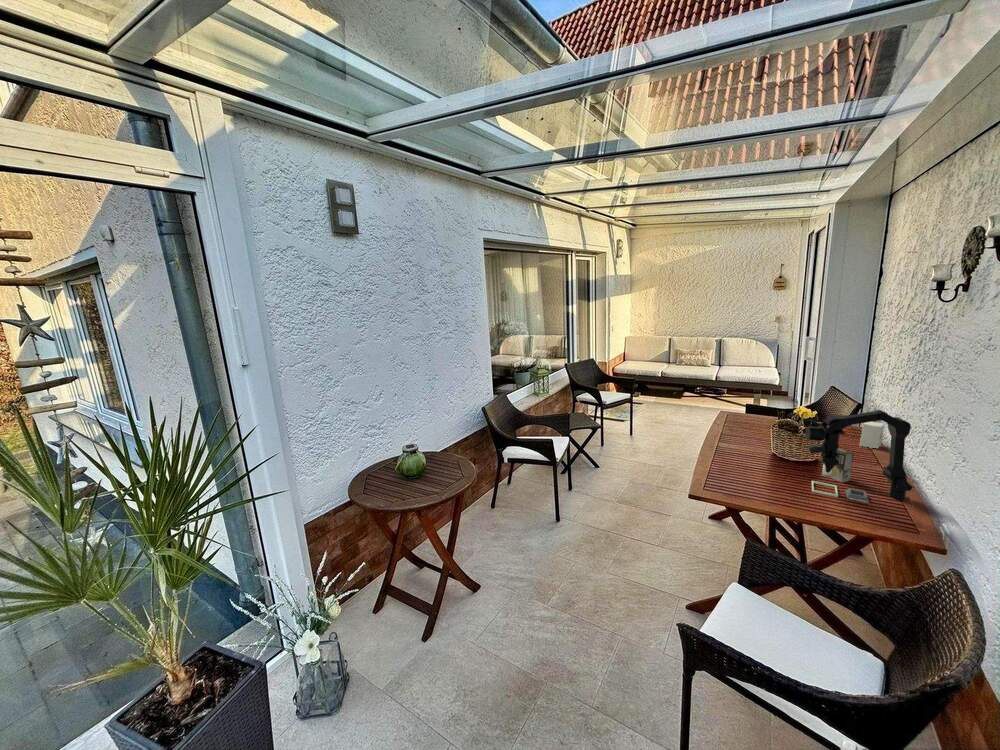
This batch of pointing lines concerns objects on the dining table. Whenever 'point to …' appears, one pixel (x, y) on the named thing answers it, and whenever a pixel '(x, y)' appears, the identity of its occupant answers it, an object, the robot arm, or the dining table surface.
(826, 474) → the banded cream cylinder
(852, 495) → the socket block
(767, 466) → the dining table surface
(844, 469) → the coffee box
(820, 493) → the pale green rectangular frame
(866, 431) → the supplement box
